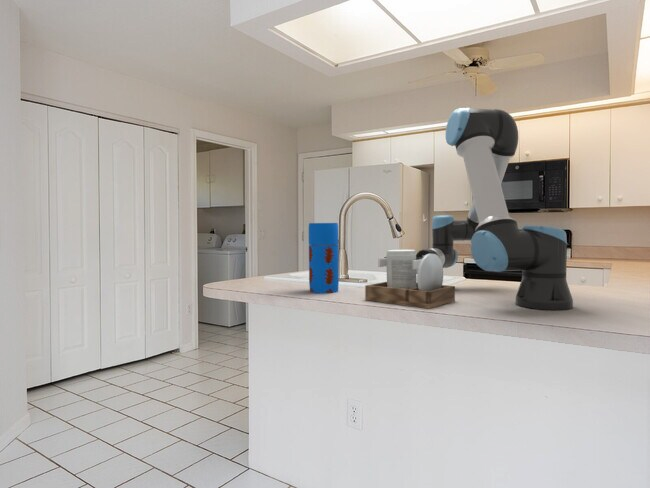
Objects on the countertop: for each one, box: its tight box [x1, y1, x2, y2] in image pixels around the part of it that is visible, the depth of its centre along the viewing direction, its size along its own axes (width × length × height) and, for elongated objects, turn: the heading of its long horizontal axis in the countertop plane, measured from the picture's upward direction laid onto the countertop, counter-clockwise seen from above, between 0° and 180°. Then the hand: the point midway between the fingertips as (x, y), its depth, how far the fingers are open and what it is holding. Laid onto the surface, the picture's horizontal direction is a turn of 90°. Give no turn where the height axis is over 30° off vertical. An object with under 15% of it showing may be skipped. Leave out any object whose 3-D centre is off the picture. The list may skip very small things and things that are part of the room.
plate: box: [416, 254, 444, 291], centre depth 137 cm, size 1×14×14 cm, turn 138°
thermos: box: [308, 222, 340, 294], centre depth 164 cm, size 11×11×25 cm
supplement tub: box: [385, 249, 417, 289], centre depth 145 cm, size 10×10×15 cm
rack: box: [364, 281, 456, 309], centre depth 142 cm, size 23×16×5 cm
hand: (395, 263), depth 142 cm, fingers open, 12 cm apart
